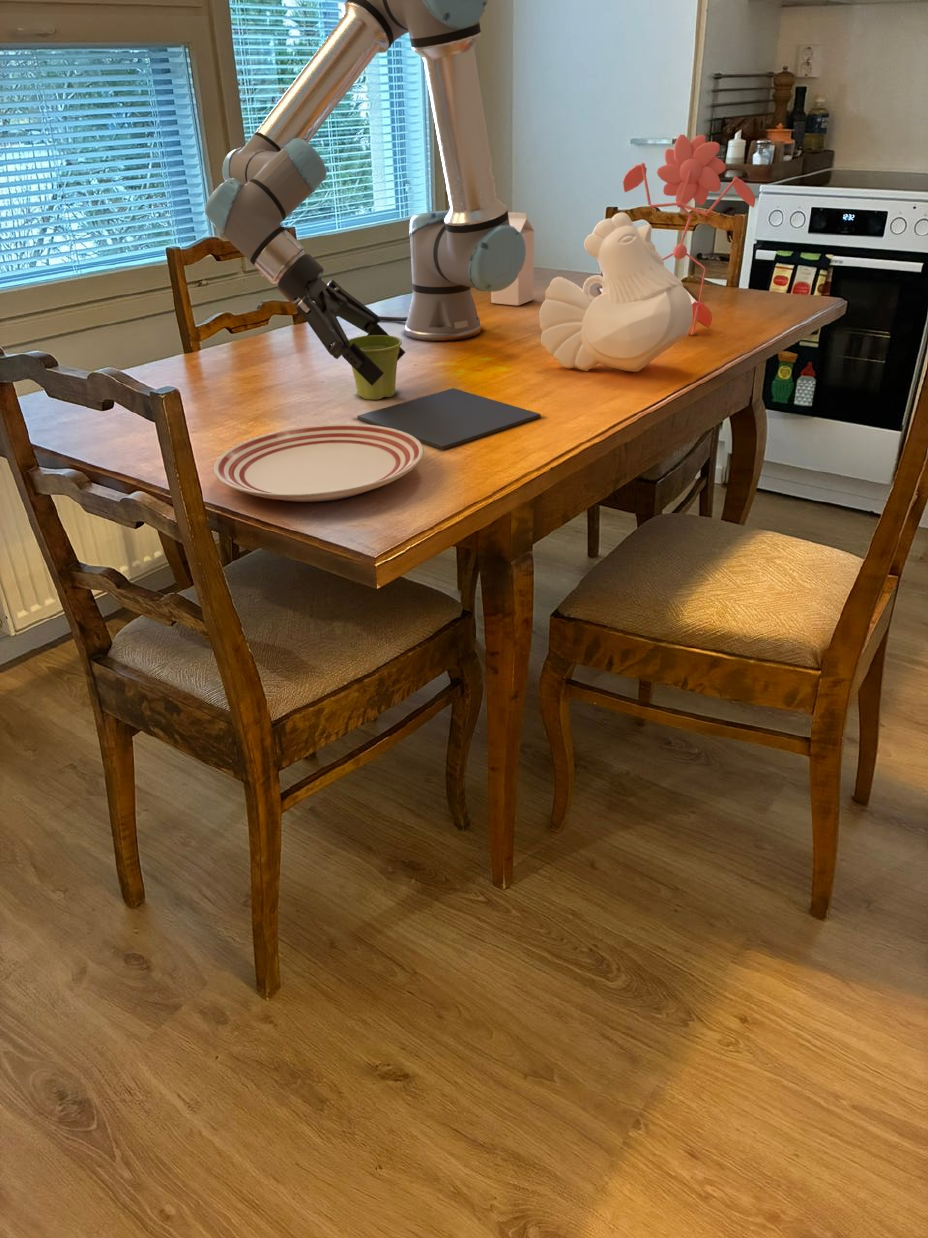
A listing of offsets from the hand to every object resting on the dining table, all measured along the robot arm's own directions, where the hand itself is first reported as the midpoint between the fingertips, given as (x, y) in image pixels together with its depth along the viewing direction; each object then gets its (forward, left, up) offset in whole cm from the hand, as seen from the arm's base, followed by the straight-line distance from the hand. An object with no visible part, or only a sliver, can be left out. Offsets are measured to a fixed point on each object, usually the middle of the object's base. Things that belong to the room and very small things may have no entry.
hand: (389, 368), depth 157 cm
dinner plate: (+22, -29, -5) cm, 37 cm away
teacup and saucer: (-17, +90, -5) cm, 91 cm away
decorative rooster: (+16, +38, -5) cm, 41 cm away
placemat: (+16, -1, -4) cm, 17 cm away
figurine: (+6, +71, -5) cm, 71 cm away
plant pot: (-2, -1, -5) cm, 5 cm away
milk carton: (-36, +65, -5) cm, 74 cm away
